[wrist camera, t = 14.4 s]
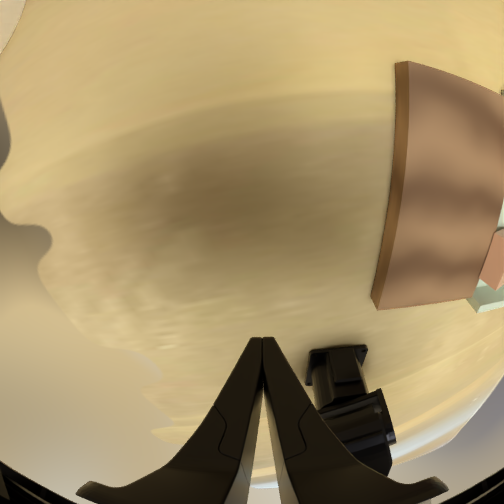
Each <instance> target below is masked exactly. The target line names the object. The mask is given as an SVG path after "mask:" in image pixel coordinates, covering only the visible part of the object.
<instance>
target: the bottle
mask: <svg viewBox="0 0 504 504" xmlns="http://www.w3.org/2000/svg"><path fill="white" fill-rule="evenodd" d="M25 2H26V0H0V54H1V52H2V51H3V49H4V48H5V46H6V45H7V43H8V41H9V39H10V38H11V36H12V34H13V32H14V30H15V28H16V26H17V24H18V22H19V19H20V17H21V15H22V12H23V9H24V6H25Z"/></svg>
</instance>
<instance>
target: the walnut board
mask: <svg viewBox="0 0 504 504" xmlns="http://www.w3.org/2000/svg"><path fill="white" fill-rule="evenodd" d="M395 74H396V123H395V144H394V158H393V170H392V179H391V188H390V196H389V204H388V211H387V218H386V224H385V230H384V236H383V241H382V247H381V252H380V257H379V262H378V267H377V271H376V276H375V280H374V284H373V289H372V293H371V298H372V300H373V303H374V305H375V307H376V309H377V310H387V309H396V308H404V307H412V306H420V305H427V304H434V303H441V302H447V301H454V300H460V299H466V298H471V297H472V296H473V294H474V291H475V289H476V287H477V284H478V282H479V279H480V278H479V276H480V274H481V271H482V268H483V266H484V263H485V260H486V257H487V254H488V252H489V249H490V246H491V242H492V239H493V236H494V233H495V232H496V229H497V225H498V221H499V217H500V213H501V209H502V205H503V200H504V96H502V95H500V94H498V93H496V92H494V91H492V90H489V89H487V88H485V87H483V86H481V85H478V84H476V83H473V82H471V81H469V80H466V79H464V78H461V77H458V76H456V75H453V74H450V73H447V72H444V71H441V70H438V69H435V68H432V67H429V66H425V65H422V64H418V63H415V62H411V61H405V62H400V63H395Z"/></svg>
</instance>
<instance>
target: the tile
mask: <svg viewBox="0 0 504 504" xmlns="http://www.w3.org/2000/svg"><path fill="white" fill-rule="evenodd" d="M479 278H480V279H481V280H482V281H484V282H485V283H486V284H487V285H489V286H490V287H491V288H492V289H494V290H495V291H496V290H498V289H499V288H500V287H501V286H502V285H504V229H502V230H500V231H497V232H495V233H494V236H493V239H492V242H491V246H490V249H489V252H488V254H487V257H486V260H485V263H484V266H483V268H482V271H481V274H480V276H479Z"/></svg>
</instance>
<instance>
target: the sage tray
mask: <svg viewBox="0 0 504 504" xmlns="http://www.w3.org/2000/svg"><path fill="white" fill-rule="evenodd" d="M501 95H502V96H504V90H501ZM502 229H504V200H503V205H502V209H501V213H500V217H499V221H498V225H497V229H496V232H497V231H500V230H502ZM466 299H467V301H468V302H469V303H470V305H471V306H472V307H473V309H474V310H475V311H476V313H480V312H485V311H489V310H493V309H497V308H501V307H504V285H502V286H501V287H500V288H499V289H498V290H496V291H495V290H494V289H492V288H491V287H490V286H489V285H487V284H486V283H485V282H484V281H482V280H481V279H479V282H478V284H477V287H476V289H475V291H474V294H473V296H472V297H471V298H466Z"/></svg>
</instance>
